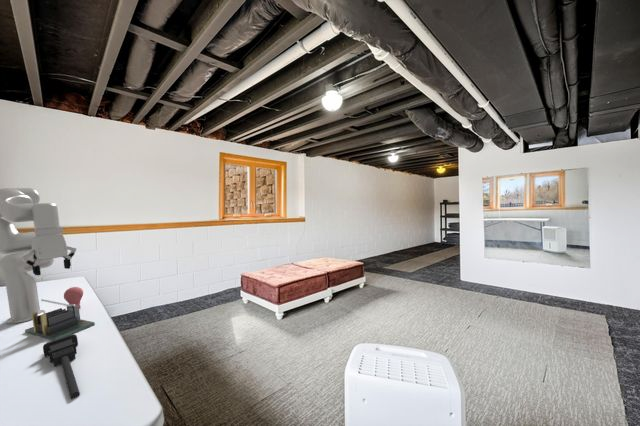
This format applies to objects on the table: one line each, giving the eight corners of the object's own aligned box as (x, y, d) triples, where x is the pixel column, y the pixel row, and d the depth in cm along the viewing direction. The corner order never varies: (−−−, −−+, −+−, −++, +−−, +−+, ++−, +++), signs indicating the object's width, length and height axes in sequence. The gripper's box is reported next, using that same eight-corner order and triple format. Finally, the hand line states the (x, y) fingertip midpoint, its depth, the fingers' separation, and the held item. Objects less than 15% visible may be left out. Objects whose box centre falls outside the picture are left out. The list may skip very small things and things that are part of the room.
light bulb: (73, 314, 128) (70, 289, 127) (62, 313, 129) (58, 289, 128) (89, 307, 135) (86, 284, 134) (78, 307, 136) (75, 284, 135)
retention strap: (39, 301, 108) (42, 297, 109) (71, 308, 117) (73, 304, 118) (43, 302, 107) (46, 298, 108) (75, 308, 116) (77, 305, 117)
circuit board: (25, 332, 111) (22, 311, 111) (64, 318, 123) (61, 299, 122) (55, 340, 102) (51, 317, 101) (94, 324, 114) (91, 304, 113)
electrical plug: (76, 341, 100) (74, 328, 100) (97, 394, 73) (95, 377, 73) (43, 352, 94) (41, 339, 93) (53, 415, 67) (50, 396, 66)
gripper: (68, 229, 122) (73, 265, 123) (14, 235, 106) (20, 277, 107) (77, 229, 119) (82, 266, 120) (23, 235, 103) (29, 278, 104)
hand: (53, 271), depth 114 cm, fingers open, 9 cm apart
